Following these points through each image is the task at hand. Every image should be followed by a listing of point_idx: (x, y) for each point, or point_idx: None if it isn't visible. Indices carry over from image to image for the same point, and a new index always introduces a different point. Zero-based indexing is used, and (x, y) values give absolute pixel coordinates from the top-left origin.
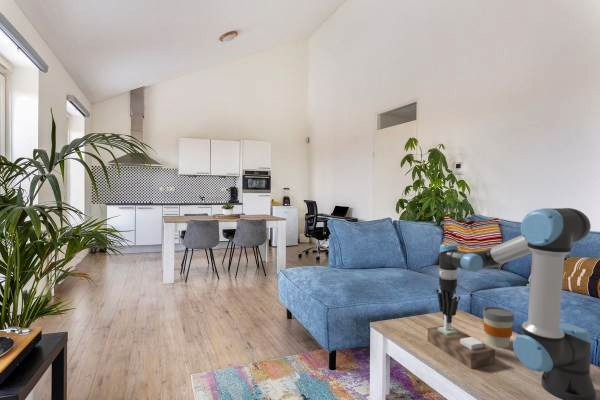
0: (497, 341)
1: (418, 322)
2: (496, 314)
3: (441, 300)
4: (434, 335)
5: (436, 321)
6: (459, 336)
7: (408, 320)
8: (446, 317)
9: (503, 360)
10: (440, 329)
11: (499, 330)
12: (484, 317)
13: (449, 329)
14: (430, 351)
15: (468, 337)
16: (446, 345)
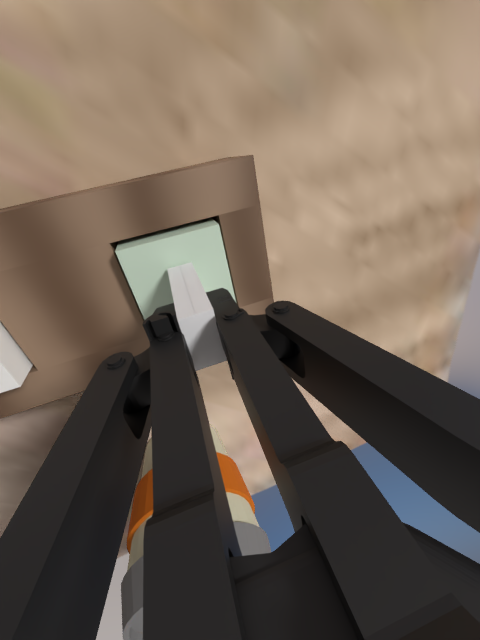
0: (148, 459)
1: (428, 224)
2: None
3: (361, 397)
4: (171, 172)
5: (402, 311)
6: (101, 324)
7: (467, 179)
8: (176, 314)
9: (19, 427)
10: (185, 232)
11: (133, 517)
12: None
13: None
14: (63, 82)
15: (2, 365)
16: (42, 201)
